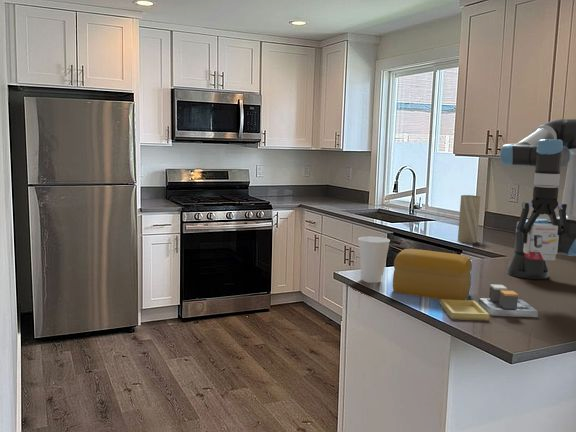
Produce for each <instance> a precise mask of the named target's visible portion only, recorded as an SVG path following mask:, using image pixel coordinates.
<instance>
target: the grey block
mask: <svg viewBox="0 0 576 432" xmlns="http://www.w3.org/2000/svg"><path fill="white" fill-rule="evenodd" d="M518 300H519V294H518V293H517V292H515V291H514V290H507V291H504V290H500V298H499V305H500V306H501V307H503V308H507V309H517V301H518Z"/></svg>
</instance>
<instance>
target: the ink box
mask: <svg viewBox="0 0 576 432" xmlns="http://www.w3.org/2000/svg"><path fill="white" fill-rule="evenodd" d="M557 233H558V226H556V225H553V224H542V223H534V224H533V225H532V227H531V229H530V231H529V232H528V234H530V245H529V254H526V253H525V257H526V258H528V259H531V260H546V261H556V257H557V256H556V255H557V254H556V245H557Z"/></svg>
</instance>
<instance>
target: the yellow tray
mask: <svg viewBox="0 0 576 432" xmlns="http://www.w3.org/2000/svg"><path fill="white" fill-rule="evenodd" d="M439 301H440V304H439V306H440V307H441V309H443V310H444V313H446V314H447V315H448V316H449V317H450V319H451V320H456V319H458V321H459V320H460V321H462V320H463V321H465V320H466V321H482V322H483V321H486V322H489V321H490V314H489V313H488V312H487V311H486V310H485V309H484V308H483V307H482V306H481V305H479V302H477V301H476V300H469V299H466V300H445V299H441V300H439Z"/></svg>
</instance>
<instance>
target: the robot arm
mask: <svg viewBox="0 0 576 432" xmlns="http://www.w3.org/2000/svg"><path fill="white" fill-rule="evenodd" d="M499 160H500V163H501V164H503V165H505V166H518V167H519V166H521V167H535V169H534V170H535V172H534V179H533V184H534V185H535V186H534V187H533V191H532V200H531V201H530V202H525V201H523V202H522V203H521V205H522V206H521V207H522V210H521V214H520V216H519V220H518V221H517V222H516V226H515V227H516V228H515V237H514V238H515V239H514V248H513V249H514V252H513V256H512V259H511V260H510V262H509V264H508V268H507V273H508V274H509V275H511V276H513V277H517V278H523V279H530V280H544V279H546V280H547V279H548V277H549V270H548V269H549V268H548V266H547V262H546V261H547V260H531V259H528V258H526V257H525V253H526V254H529V245H530V234H528V232H529V231H530V229H531V227H532V225H533V224H534V223H542V224H553V225H556V226H558V233H557V245H556V255H564V256H569V257H576V118H573V119H572V118H571V119H570V118H568V119H566V118H562V119H561V118H560V119H559V118H558V119H554V120H550V121H548V122H545V123H543V124H541V125H539V126H537V127H535V128H534V129H533V131H532V132H531V133H530V135H528V136H526V137H524V138H523V139H522V140H520V141H518V142H516V143H510V144H509V143H507V144H503V145H502V146H501V149H500V152H499ZM565 166H567V167H566V169H567V170H566V175H565V181H564V188H563V194H562V201H561V203H560V202H559V201H558V198H559V187H558V186H560V178H561V177H560V176H561V168H563V167H565ZM531 207H532V211H531V215H530V216H528V215H529V212H530V209H531ZM556 209H557V210H558V216H557V214H556V211H555V210H556ZM540 215H548V217H549V219H550V220H549V219H548V218H539V216H540ZM550 222H551V223H550Z"/></svg>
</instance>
